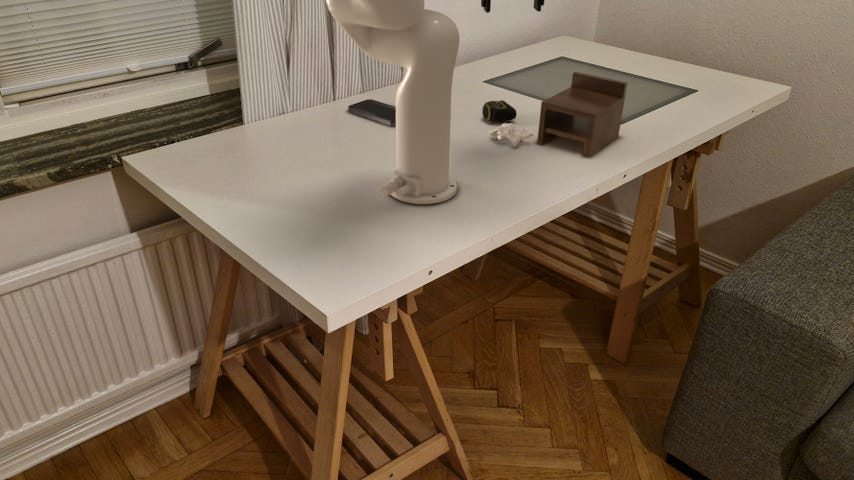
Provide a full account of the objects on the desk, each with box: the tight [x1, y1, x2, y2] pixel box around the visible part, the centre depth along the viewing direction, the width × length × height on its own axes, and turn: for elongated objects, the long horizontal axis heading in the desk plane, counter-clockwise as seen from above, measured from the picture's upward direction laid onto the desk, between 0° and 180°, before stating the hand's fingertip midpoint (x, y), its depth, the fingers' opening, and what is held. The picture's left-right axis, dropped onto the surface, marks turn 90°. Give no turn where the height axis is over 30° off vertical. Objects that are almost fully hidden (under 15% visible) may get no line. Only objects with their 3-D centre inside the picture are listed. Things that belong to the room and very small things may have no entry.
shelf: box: [536, 71, 628, 158], centre depth 145 cm, size 14×12×12 cm
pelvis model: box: [489, 122, 534, 148], centre depth 146 cm, size 8×4×7 cm
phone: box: [347, 98, 396, 127], centre depth 160 cm, size 8×1×15 cm
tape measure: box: [481, 99, 518, 124], centre depth 157 cm, size 7×7×4 cm
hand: (512, 10), depth 131 cm, fingers open, 9 cm apart
